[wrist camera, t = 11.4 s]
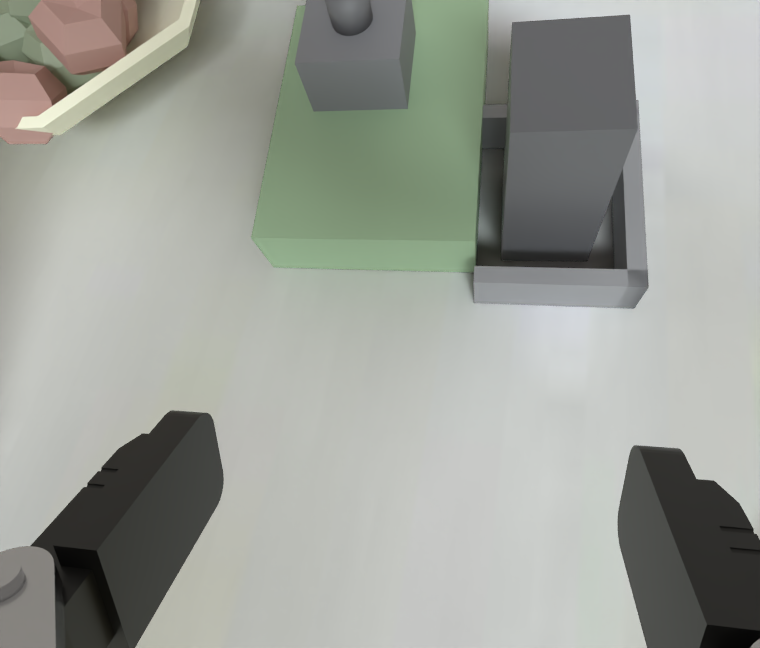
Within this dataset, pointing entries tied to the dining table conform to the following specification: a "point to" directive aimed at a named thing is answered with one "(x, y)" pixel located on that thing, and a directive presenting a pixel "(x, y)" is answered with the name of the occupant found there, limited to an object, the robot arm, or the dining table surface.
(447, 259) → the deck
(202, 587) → the dining table surface
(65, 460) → the dining table surface
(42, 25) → the dish with food
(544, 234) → the tall grey cuboid
